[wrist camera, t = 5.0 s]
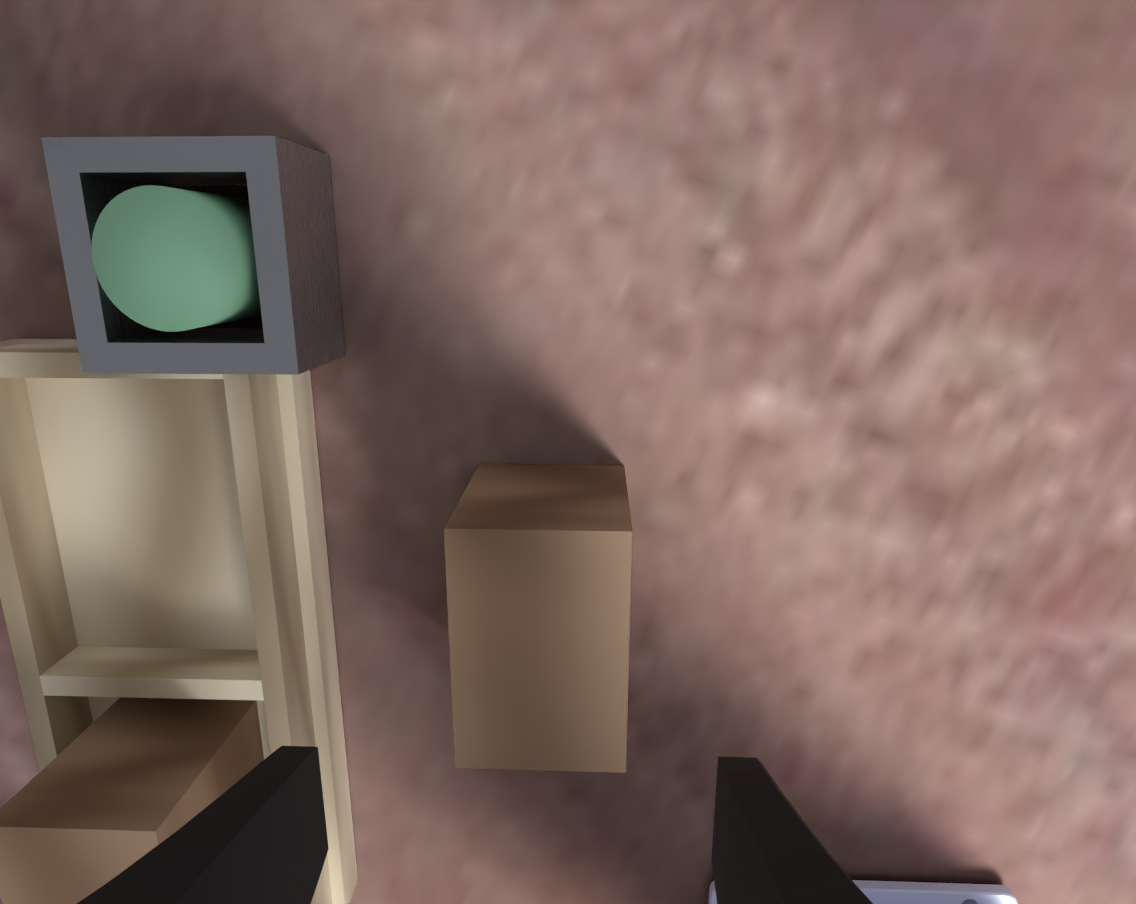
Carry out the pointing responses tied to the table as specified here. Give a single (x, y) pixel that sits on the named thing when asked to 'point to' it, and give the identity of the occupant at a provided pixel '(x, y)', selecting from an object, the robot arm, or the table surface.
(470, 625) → the block
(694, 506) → the table surface
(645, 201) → the table surface
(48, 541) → the wooden divided tray
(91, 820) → the seated walnut billet
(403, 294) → the table surface
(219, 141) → the button housing
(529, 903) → the table surface
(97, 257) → the button
